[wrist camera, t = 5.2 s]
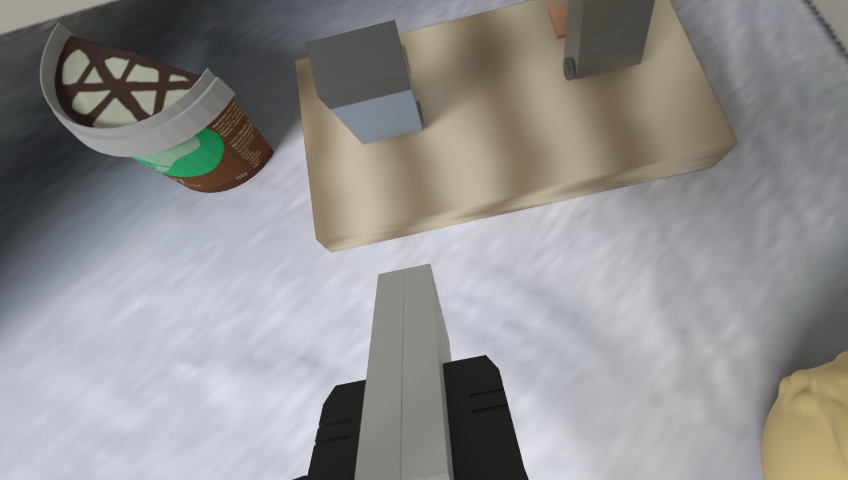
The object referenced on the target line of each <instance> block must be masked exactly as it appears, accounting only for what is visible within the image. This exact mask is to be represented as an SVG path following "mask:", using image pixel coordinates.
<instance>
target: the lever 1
mask: <svg viewBox="0 0 848 480" xmlns="http://www.w3.org/2000/svg"><path fill="white" fill-rule="evenodd" d="M306 47H307V52H308V56H309V61H310V65H311V70H312V74H313V79H314V83H315V88H316V92H317V97H318V98H319V99H320V100H321V101H322V102H323V103H324V104H325V105H326V106H327V107H328V108H329V109H330V110H331V111H332V112H333V113H334V114H335V116H336V117H337V118H338V119H339V120H340V121H341V122H342V123H343V124H344V125H345V126H346V127H347V128H348V129H349V130H350V131H351V132H352V133H353V135H354V136H355V137H356V138H357V139H358V140H359V141H360V142H361V143H362V144H363V145H364V144H368V143H372V142H376V141H380V140H385V139H389V138H393V137H397V136H401V135H405V134H410V133H414V132H418V131H422V130H423V129H422V125H421V123H424V119H423V115H422V110H421V106H420V102H419V101H416V98H415V94H414V90H413V86H412V83H411V79H410V75H409V71H408V68H407V64H406V60H405V57H404V53H403V49H402V45H401V42H400V38H399V34H398V31H397V27H396V23H395V20H393V21H389V22H385V23H381V24H377V25H373V26H370V27H366V28H362V29H358V30H354V31H350V32H346V33H342V34H338V35H335V36H331V37H327V38H323V39H319V40H315V41H311V42H307V43H306Z"/></svg>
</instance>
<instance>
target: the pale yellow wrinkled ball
mask: <svg viewBox="0 0 848 480" xmlns="http://www.w3.org/2000/svg"><path fill="white" fill-rule="evenodd" d="M761 461H762V470H763V476H764V480H848V351H844V352H842V353H840V354H839V355H838V356H837V357H836V359H835V360H834V361H831V362H828V363H825V364H823V365H820V366H818V367H815V368H811V369H803V370H797V371H795V372H794V373H793V374H792V375H791V376H787V377H785V378H783V379H782V380H781V382H780V384H779V394H778V398H777V399H776V401H775V403H774V404H773V406H772V408H771V410H770V412H769V415H768V417H767V420H766V423H765V426H764V430H763V436H762V444H761Z"/></svg>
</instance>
